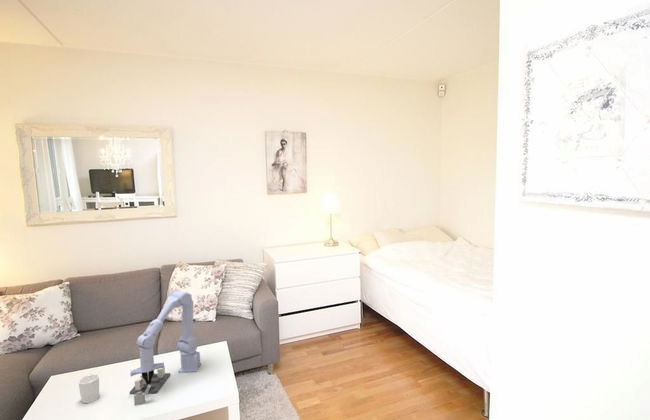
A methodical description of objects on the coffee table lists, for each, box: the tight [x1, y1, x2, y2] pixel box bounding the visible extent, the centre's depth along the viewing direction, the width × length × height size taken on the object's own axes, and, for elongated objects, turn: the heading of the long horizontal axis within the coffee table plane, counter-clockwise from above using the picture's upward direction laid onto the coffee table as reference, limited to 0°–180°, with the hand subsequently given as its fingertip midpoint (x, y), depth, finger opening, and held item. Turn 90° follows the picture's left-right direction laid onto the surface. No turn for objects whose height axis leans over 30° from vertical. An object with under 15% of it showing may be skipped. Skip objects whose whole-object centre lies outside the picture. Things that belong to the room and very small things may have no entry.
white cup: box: [78, 373, 100, 404], centre depth 157 cm, size 8×8×10 cm
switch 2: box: [156, 365, 166, 378], centre depth 173 cm, size 2×3×4 cm
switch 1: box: [134, 377, 144, 390], centre depth 163 cm, size 2×3×4 cm
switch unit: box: [129, 372, 171, 395], centre depth 168 cm, size 13×15×1 cm
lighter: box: [133, 384, 151, 406], centre depth 154 cm, size 7×2×8 cm, turn 107°
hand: (148, 385), depth 163 cm, fingers closed
